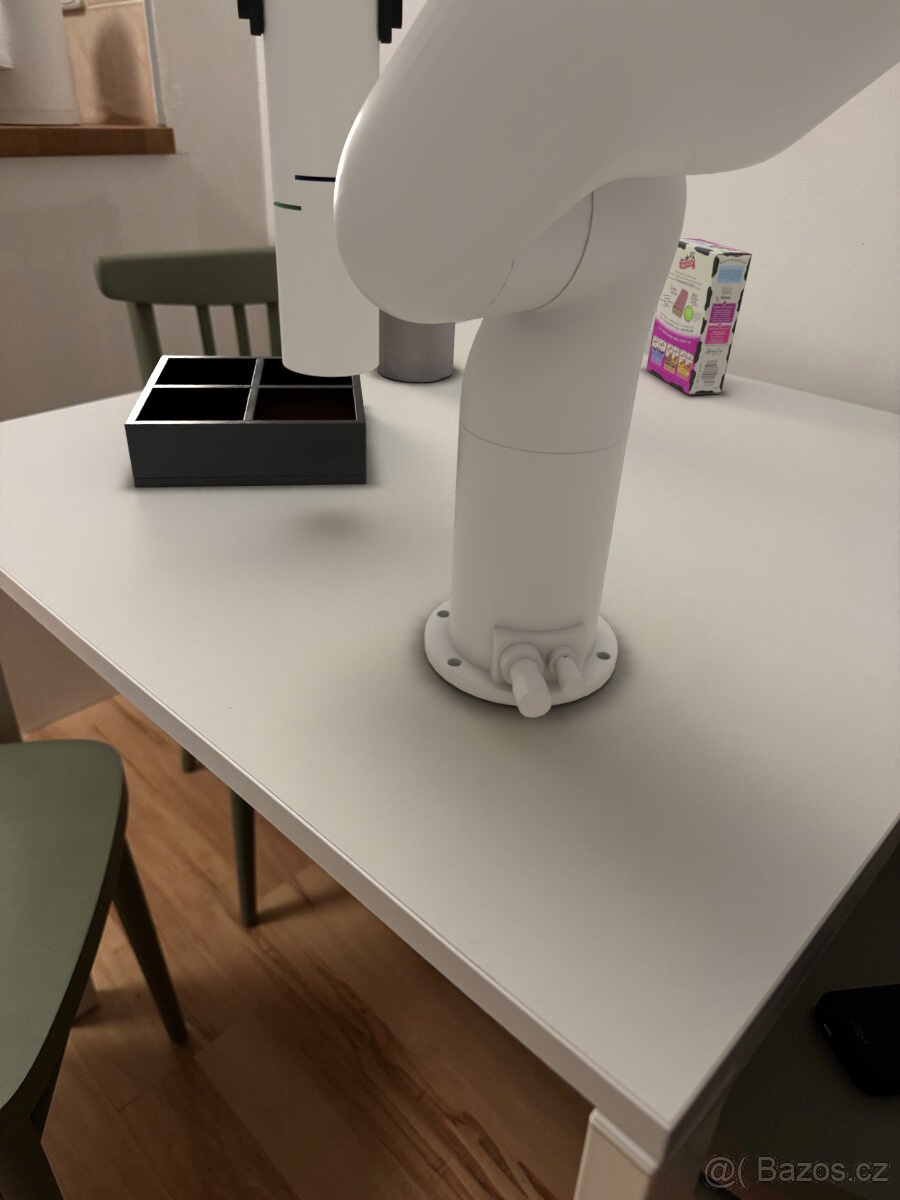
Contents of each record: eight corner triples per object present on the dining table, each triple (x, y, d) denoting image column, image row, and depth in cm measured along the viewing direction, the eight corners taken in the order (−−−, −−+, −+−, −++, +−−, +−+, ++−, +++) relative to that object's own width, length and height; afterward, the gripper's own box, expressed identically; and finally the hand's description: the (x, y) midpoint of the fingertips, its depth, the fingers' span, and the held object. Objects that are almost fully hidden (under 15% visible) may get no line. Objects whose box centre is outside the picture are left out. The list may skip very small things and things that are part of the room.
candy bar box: (724, 394, 104) (755, 253, 95) (688, 396, 102) (717, 253, 94) (677, 368, 113) (702, 236, 104) (644, 369, 111) (666, 236, 103)
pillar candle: (373, 360, 110) (372, 237, 102) (446, 360, 111) (451, 238, 103) (381, 384, 101) (381, 251, 94) (460, 382, 103) (467, 252, 95)
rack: (366, 483, 77) (366, 422, 74) (134, 487, 74) (123, 424, 71) (358, 408, 94) (357, 356, 91) (169, 409, 91) (162, 355, 88)
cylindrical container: (363, 381, 59) (360, -68, 46) (267, 370, 60) (237, -73, 47) (389, 353, 65) (392, -52, 52) (301, 344, 66) (282, -55, 53)
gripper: (116, -443, 38) (167, 28, 48) (491, -392, 41) (469, 46, 50) (143, -372, 44) (184, 32, 54) (467, -331, 47) (451, 48, 56)
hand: (321, 36), depth 52 cm, fingers closed on cylindrical container, 7 cm apart
